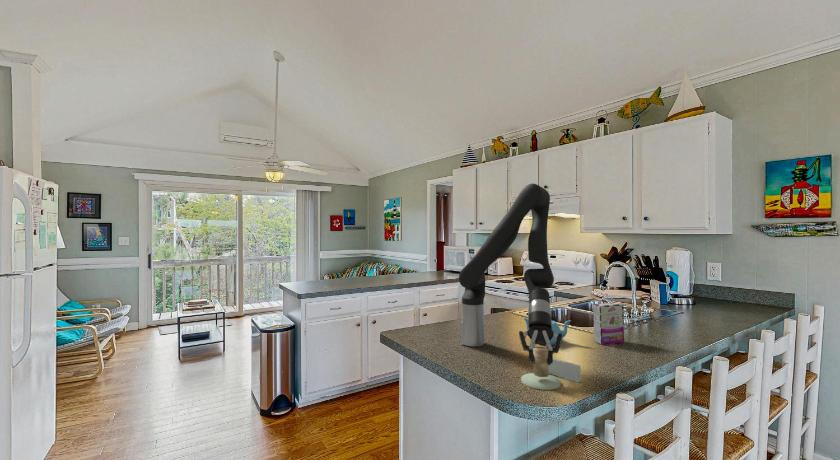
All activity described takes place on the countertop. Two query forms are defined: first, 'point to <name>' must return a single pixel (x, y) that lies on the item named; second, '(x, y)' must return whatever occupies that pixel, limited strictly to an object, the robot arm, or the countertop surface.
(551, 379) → the sage mat
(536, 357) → the beech cylinder
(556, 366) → the frosted wall
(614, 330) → the candy bar box
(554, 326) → the teapot
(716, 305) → the countertop surface
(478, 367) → the countertop surface
